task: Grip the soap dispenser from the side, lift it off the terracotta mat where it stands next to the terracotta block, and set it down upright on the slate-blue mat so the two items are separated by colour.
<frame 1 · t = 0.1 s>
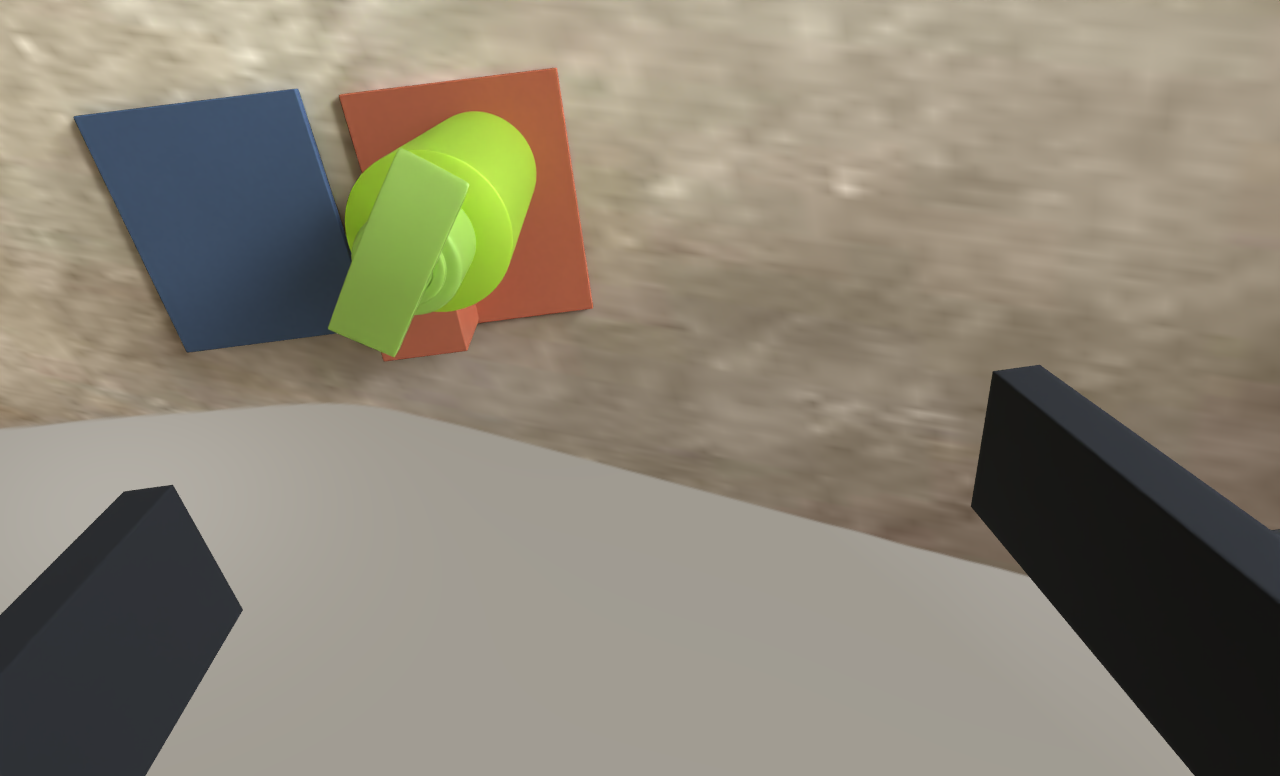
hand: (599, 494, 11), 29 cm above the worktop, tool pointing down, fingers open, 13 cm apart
slate mat: (240, 229, 36), on the worktop
terracotta block: (431, 288, 38), resting on terracotta mat
terracotta mat: (478, 209, 37), on the worktop
soap dispenser: (485, 161, 35), resting on terracotta mat
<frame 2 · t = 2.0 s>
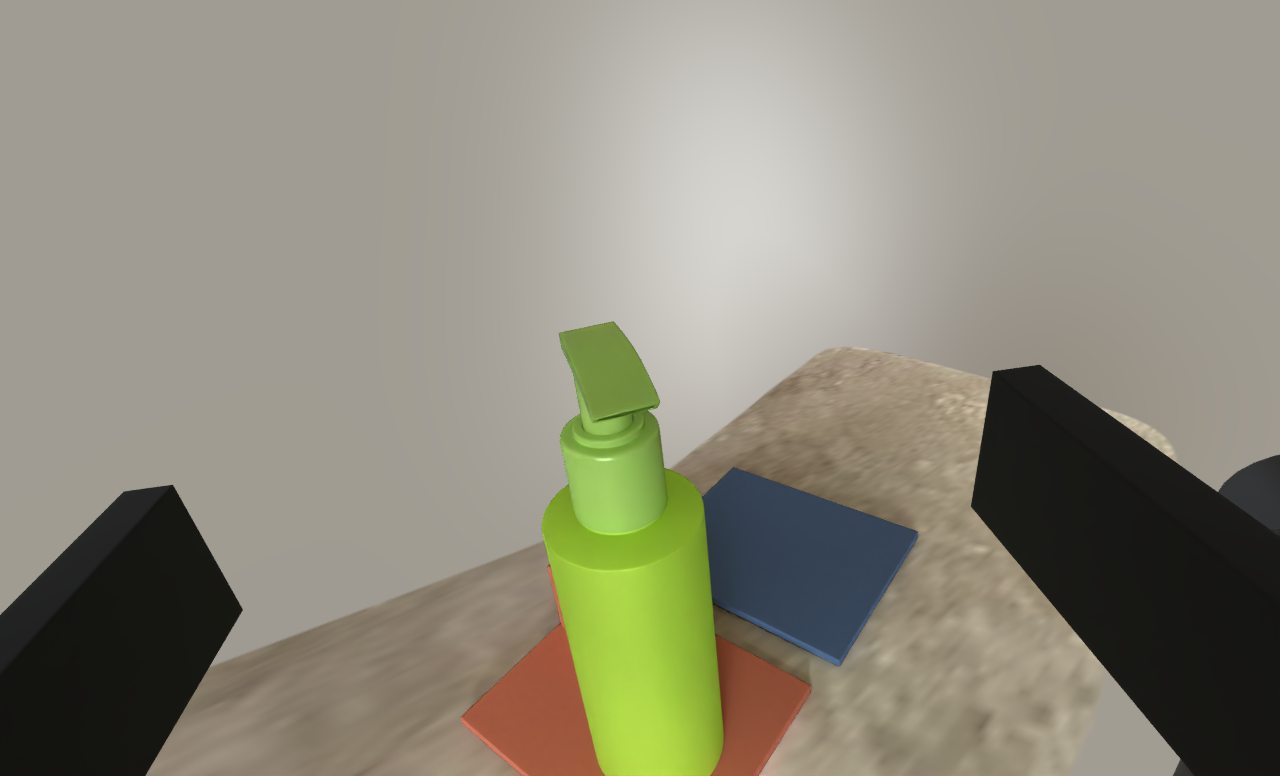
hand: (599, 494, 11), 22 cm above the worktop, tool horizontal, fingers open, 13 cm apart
slate mat: (776, 551, 40), on the worktop
terracotta mat: (635, 708, 32), on the worktop
soap dispenser: (662, 748, 30), resting on terracotta mat
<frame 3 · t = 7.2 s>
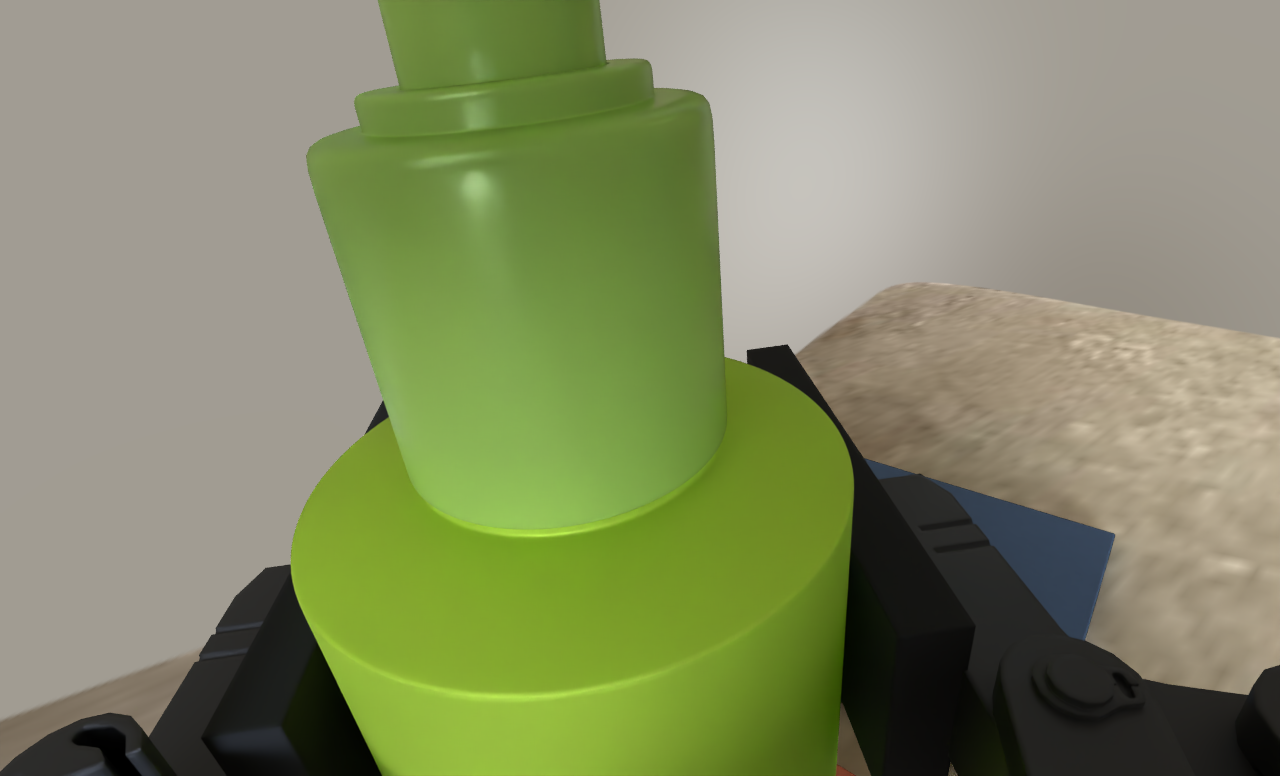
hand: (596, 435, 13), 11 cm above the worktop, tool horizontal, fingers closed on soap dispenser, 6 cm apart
slate mat: (868, 567, 23), on the worktop
when the fingers open (11 cm above the worktop, at t = 13.1 s): soap dispenser stays where it is, resting on slate mat.
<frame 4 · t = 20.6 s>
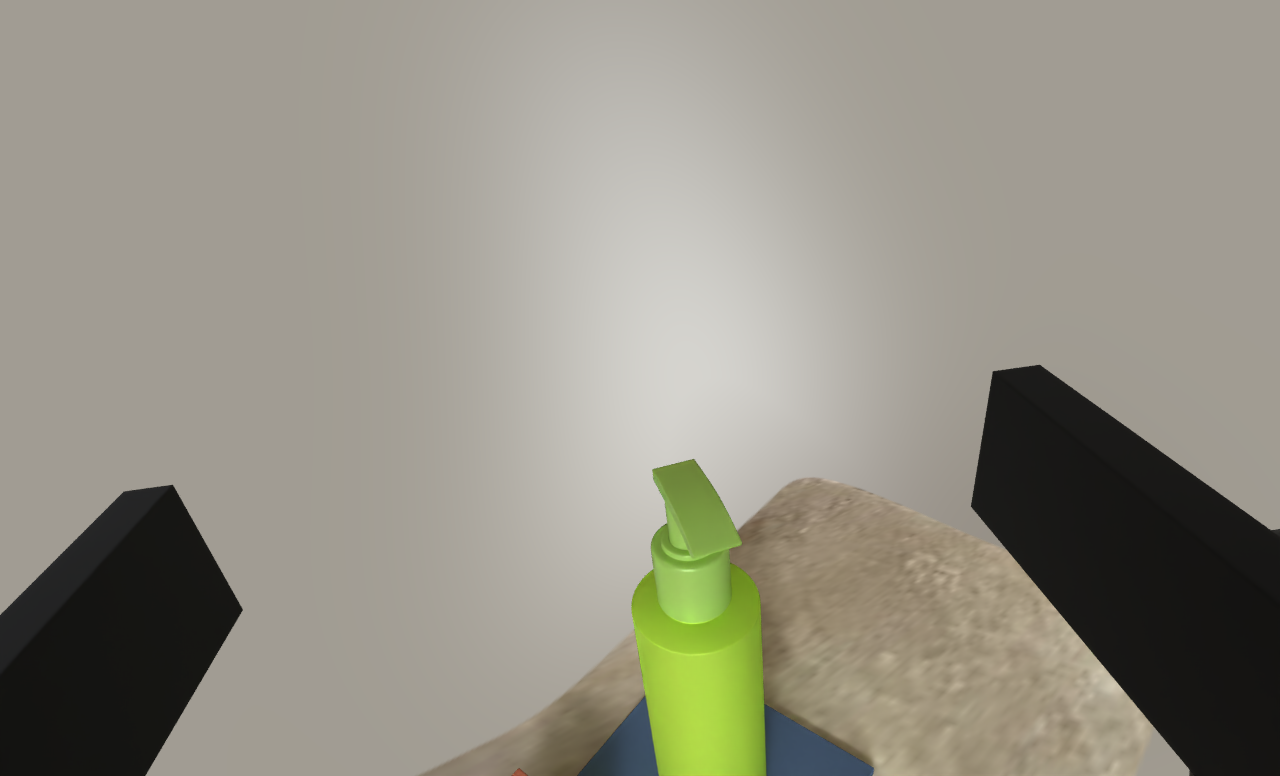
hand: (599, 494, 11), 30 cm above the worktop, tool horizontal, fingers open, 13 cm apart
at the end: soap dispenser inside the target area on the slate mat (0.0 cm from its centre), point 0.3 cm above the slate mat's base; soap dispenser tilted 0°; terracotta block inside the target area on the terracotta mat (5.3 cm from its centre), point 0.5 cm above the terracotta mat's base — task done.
